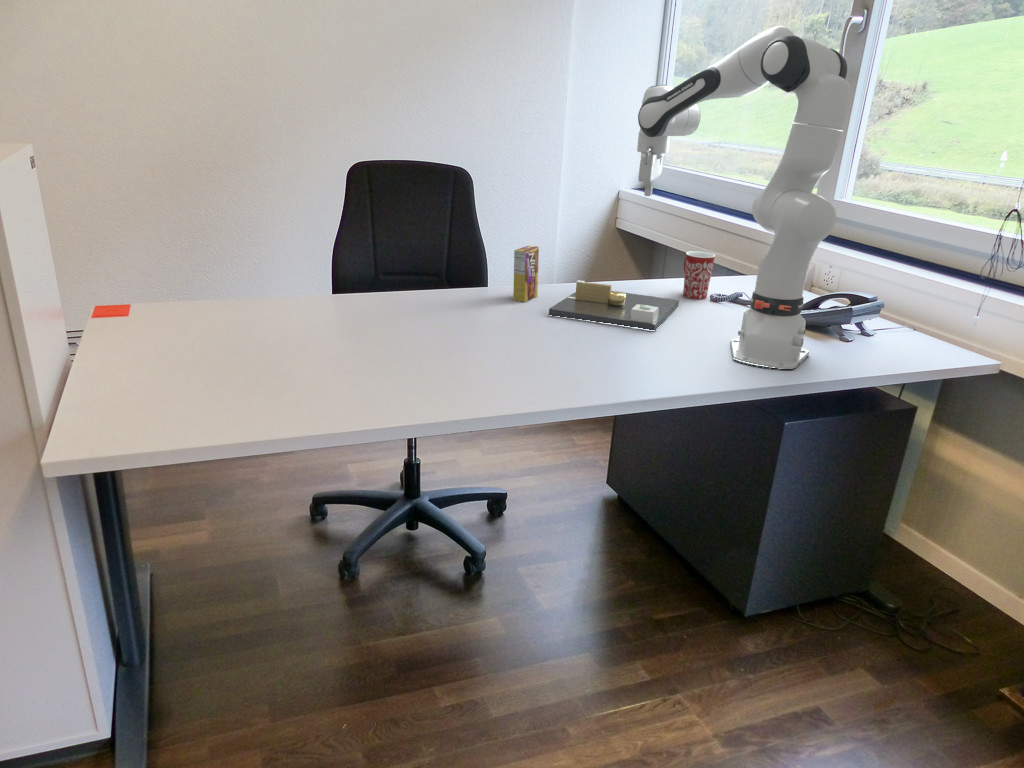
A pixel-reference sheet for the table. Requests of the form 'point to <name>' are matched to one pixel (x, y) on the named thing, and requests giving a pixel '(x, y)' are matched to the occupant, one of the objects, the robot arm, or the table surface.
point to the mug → (697, 274)
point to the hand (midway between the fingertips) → (647, 195)
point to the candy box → (526, 273)
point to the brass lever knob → (599, 293)
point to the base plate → (619, 310)
